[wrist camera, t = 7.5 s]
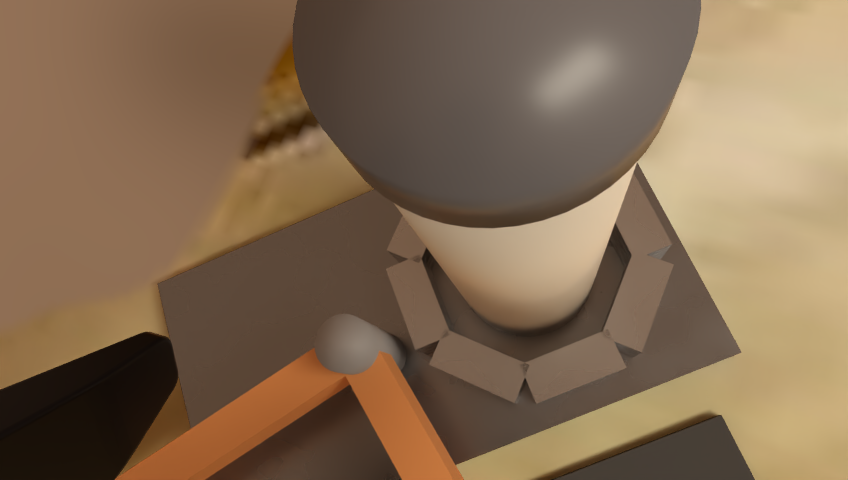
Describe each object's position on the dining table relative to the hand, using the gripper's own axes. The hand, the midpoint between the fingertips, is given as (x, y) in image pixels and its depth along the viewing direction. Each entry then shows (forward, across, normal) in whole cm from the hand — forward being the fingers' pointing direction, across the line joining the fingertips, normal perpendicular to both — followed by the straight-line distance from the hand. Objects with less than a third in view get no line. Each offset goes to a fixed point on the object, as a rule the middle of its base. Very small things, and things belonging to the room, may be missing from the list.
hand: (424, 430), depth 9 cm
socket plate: (+10, +3, +6) cm, 13 cm away
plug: (+11, 0, +4) cm, 12 cm away
